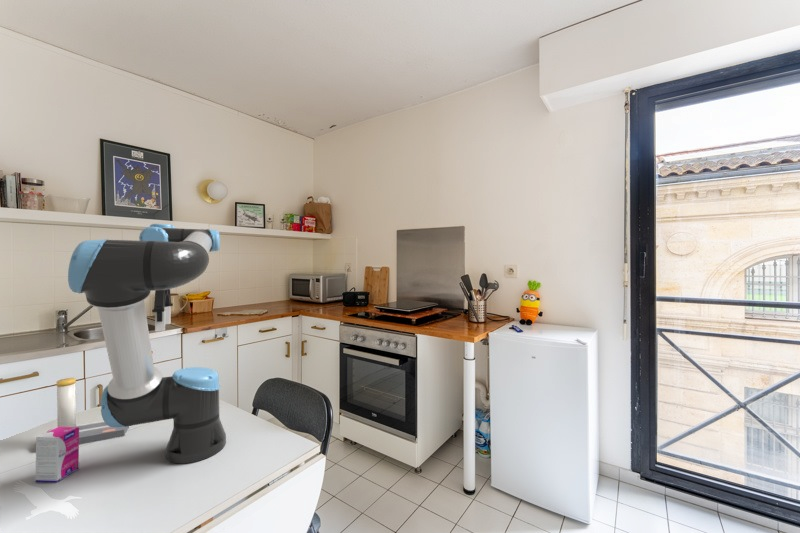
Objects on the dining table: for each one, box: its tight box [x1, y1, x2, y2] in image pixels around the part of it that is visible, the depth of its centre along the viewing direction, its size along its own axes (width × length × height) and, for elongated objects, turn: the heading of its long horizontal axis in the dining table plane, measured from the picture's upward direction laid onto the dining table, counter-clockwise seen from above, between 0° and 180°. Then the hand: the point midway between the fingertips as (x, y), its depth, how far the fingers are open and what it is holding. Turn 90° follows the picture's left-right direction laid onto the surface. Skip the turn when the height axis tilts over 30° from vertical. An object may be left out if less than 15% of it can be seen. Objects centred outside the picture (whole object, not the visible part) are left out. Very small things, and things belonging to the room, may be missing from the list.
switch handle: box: [56, 377, 77, 427], centre depth 104 cm, size 4×4×16 cm
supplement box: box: [34, 426, 80, 484], centre depth 87 cm, size 6×6×12 cm
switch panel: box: [45, 420, 130, 445], centre depth 107 cm, size 20×10×3 cm, turn 118°
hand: (163, 327), depth 120 cm, fingers open, 13 cm apart
